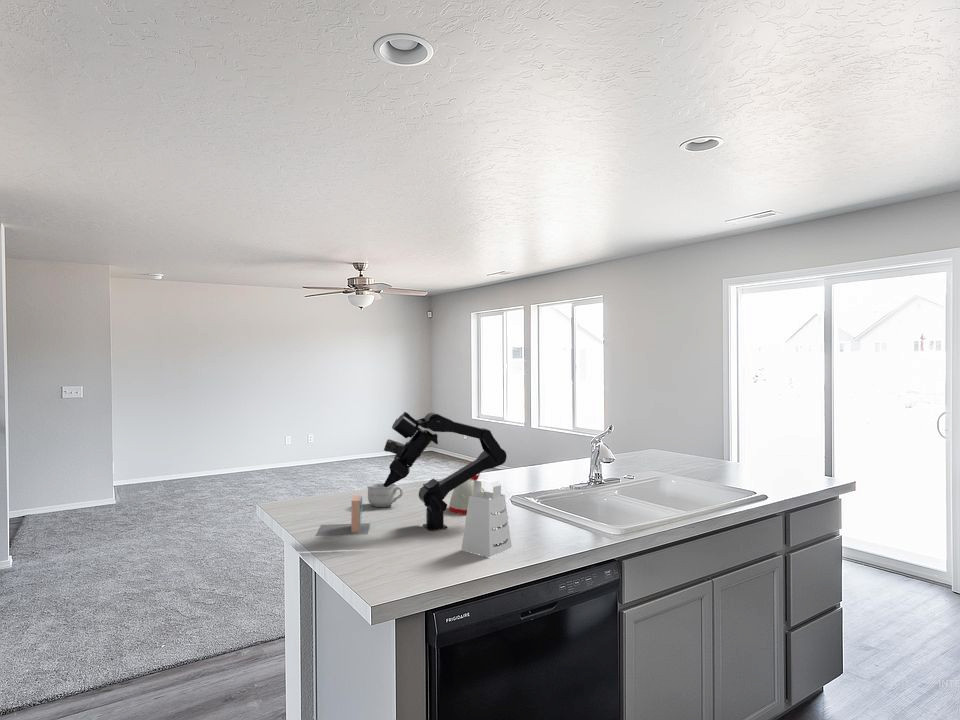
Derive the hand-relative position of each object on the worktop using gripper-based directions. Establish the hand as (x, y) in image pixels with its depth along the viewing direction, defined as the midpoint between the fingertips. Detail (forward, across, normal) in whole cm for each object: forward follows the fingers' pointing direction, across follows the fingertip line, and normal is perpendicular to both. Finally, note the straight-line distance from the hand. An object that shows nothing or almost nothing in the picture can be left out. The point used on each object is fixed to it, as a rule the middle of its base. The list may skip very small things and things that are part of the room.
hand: (386, 482), depth 186 cm
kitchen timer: (-4, -24, +31) cm, 39 cm away
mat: (+20, +3, -1) cm, 20 cm away
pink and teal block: (+17, +2, +2) cm, 17 cm away
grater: (-9, +22, +34) cm, 41 cm away
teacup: (+15, -29, +7) cm, 33 cm away
